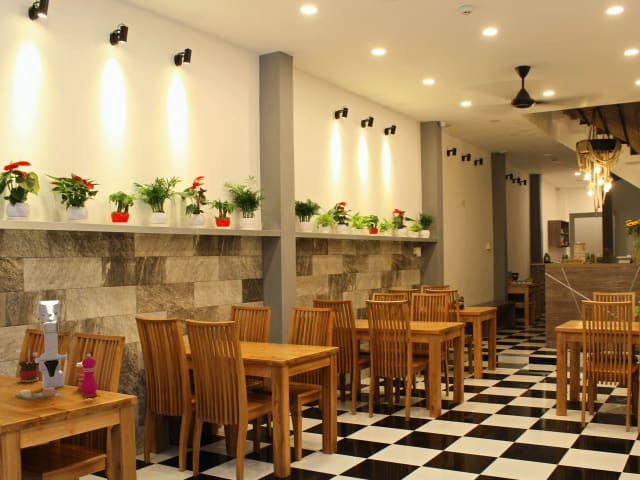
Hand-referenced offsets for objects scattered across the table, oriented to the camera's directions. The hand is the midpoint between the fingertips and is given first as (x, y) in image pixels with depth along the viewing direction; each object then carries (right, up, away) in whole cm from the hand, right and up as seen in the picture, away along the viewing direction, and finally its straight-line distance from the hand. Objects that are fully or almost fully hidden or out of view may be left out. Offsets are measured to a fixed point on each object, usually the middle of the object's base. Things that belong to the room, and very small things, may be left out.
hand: (51, 376), depth 323 cm
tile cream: (-9, -7, -5) cm, 12 cm away
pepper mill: (+19, -9, -4) cm, 21 cm away
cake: (-30, -12, +46) cm, 56 cm away
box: (-7, -9, -7) cm, 14 cm away
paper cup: (+12, -10, +11) cm, 19 cm away
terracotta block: (0, -8, -4) cm, 9 cm away
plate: (-1, -9, -1) cm, 10 cm away
